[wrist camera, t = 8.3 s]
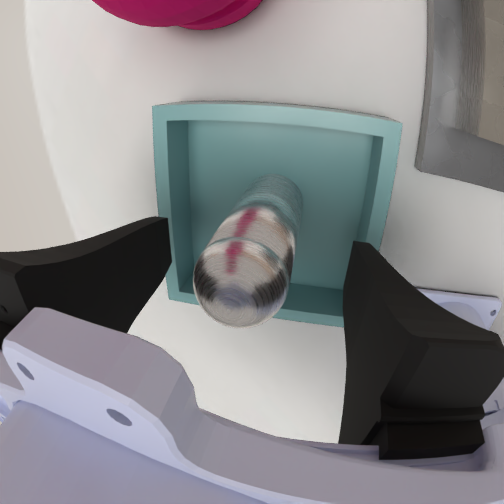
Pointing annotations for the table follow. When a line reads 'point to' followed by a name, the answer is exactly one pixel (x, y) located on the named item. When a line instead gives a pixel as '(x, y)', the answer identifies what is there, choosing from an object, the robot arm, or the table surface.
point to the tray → (282, 163)
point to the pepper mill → (180, 12)
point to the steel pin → (251, 255)
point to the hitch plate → (441, 111)
